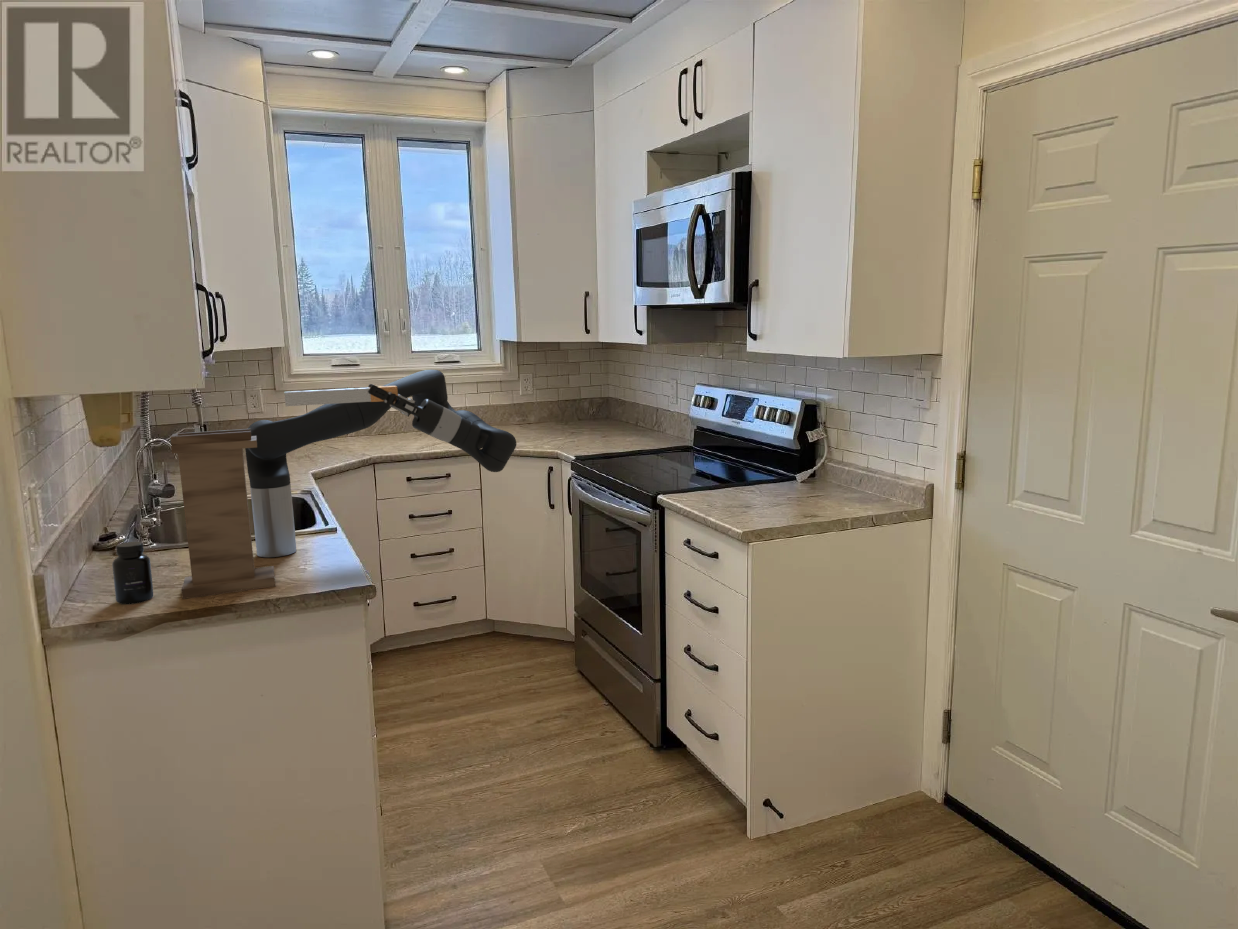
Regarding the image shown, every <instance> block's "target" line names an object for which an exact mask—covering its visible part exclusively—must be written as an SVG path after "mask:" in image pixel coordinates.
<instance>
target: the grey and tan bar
mask: <svg viewBox="0 0 1238 929" xmlns="http://www.w3.org/2000/svg"><path fill="white" fill-rule="evenodd" d="M378 387H379V388H381V389H383V390H385V391H387V394H388V392H392V393H393V394H396V395H398V392H397V386H383V385H381V386H378ZM369 389H370V387H368V386H367V387H355V388H354V387H350V388H335V389H334V388H332V389H314V390H293V391H291V390H289V391H284V392H283V394H284V395H283V396H284V403H285V404H284V405H285V407H298V406H299V407H300V406H314V405H315V406H316V405H317V406H318V405H324V404H336V403H354V402H380V401H384V400H382V399H379V398H377V397H375V396H373V395H371V394H369V392H368V391H369Z"/></svg>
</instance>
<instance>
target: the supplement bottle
mask: <svg viewBox="0 0 1238 929" xmlns="http://www.w3.org/2000/svg"><path fill="white" fill-rule="evenodd" d="M115 549H116V555H117V557H116V558H115V559H114V560H113V561H112V563H111V564H112V565H111V566H112V575H113V584H114V595H115V601H116V603H117V604H120V605H134V604H135V605H136V604H140V603H144V602H147V601H149V600H151V599H153V598H154V587H153V577H152V576H153V575H152V569H151V568H152V566H151V558H150V557H149V556H148V555H147V554H145V553H144V550H145V549H144V542H142V541H127V542H122V543H119V544H117V545H116V546H115Z"/></svg>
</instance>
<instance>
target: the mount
mask: <svg viewBox="0 0 1238 929" xmlns="http://www.w3.org/2000/svg"><path fill="white" fill-rule="evenodd" d="M170 442H171V443H170V444H171V446H170V449H171V455H172V454H177V455H178V456H177V458H178V466H179V473H180V484H181V491H182V499H183V500H182V501H183V509H184V519H185V527H186V528H185V529H186V536H187V537H186V538H187V545H188V554H189V562H190V563H189V564H190V570H191V571H190V572H191V573H190V574H191V576H185V577H184V580H183V583H182V587H181V597H182V599H183V600H184V599H190V598H198V597H204V596H205V597H206V596H213V595H220V594H226V593H235V592H243V591H250V590H257V589H263V588H265V589H266V588H273V587H276V577H275V566H274V565H269V566H263V567H261V566H260V567H255V562H254V551H253V542H252V533H251V522H250V521H251V520H250V511H249V510H250V509H249V503H248V502H249V501H248V492H247V483H246V482H247V481H246V472H245V460H244V451H243V450H244V449H245V448H256V447H257V438H256V436H251V429H248V428H241V429H225V430H222V429H221V430H210V431H196V432H195V431H193V432H192V431H191V432H179V433H172V435H171V436H170Z"/></svg>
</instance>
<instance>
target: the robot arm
mask: <svg viewBox="0 0 1238 929" xmlns="http://www.w3.org/2000/svg"><path fill="white" fill-rule="evenodd" d="M446 382H447V381H446V377H445V375H444V373H443V372H442V371H440V370H438V369H425V370H420V371H417V372H414V373H411V374H408V375H406V376H404V377H402V378H399V379H397V380H396V379H395V380H394V381H392V382H389V383H386V384H383V385H382V386H397V392H398V395H396V394H393V393H392V392H388V394H387V391H385V390H383V389H381V388H379V387H380V386H377V385H375V384H372V383H369V384H368V386H367V388H368V387H370V389H369V391H368V392H369V394H371V395H373V396H375V397H377V398H379V399H382V400H384V401H380V402H354V403H336V404H321V405H320V406H318V407H316V408H314V409H312V410H311V411H309V412H306V413H304V414H301V415H297V416H294V417H289V418H285V419H280V420H277V421H272V420H267V419H261V420H256V421H255V422H253V423H251V424H250V425H249V426H248V427H247V429H251V436H256V438H257V447H256V448H244V450H245V459H246V466H247V467H246V469H247V475H248V479H249V480H248V481H249V487H250V498H251V508H252V517H253V518H252V519H253V526H254V527H253V528H254V537H255V538H254V540H255V549H256V555H257V557H260V558H275V557H276V558H277V557H284V556H288V555H292V554H294V553H296V552H297V541H296V529H295V528H296V527H295V519H294V507H293V495H292V486H291V474H290V471H289V466H288V460H287V454H289V453H291V452H293V451H296V450H298V449H300V448H303V447H305V446H307V445H311V444H314V443H317V442H321V441H327V440H331V439H336V438H339V437H342V436H346V435H349V434H352V433H355V432H359V431H362V430H365V429H367V428H370V427H371V426H373V425H375V424H376V423H377V422H378V421H379V420H380V419H381V418H383V416H384V415H385V414H387V413H388V411H389V410H390V409H391V408H393V409H394V410H395V411H398V412H400V413H401V414H402V415H404V416H406V417H408V418H409V417H410V415H412V416H413V419H412V422H411V427H412V428H414V429H416V430H418V431H419V432H422V433H423V434H426V435H427V436H428V435H429V436H430V437H432V438H434V439H436V440H439V441H442V442H445V443H448V444H450V445H451V446H453V447H455V448H458V449H460V450H461V451H463V452H465V453H466V454H468V455H469V456H470V457H472V458H473V459H474V460H475V461H476V462H477V463H478V464H480V465H481V466H482V467H483V468H484V469H485V470H486V471H488V472H492V473H499V472H501V471H503V469H504V468H505V467H506V465H507V463H508V462H509V460H510V459H511V456H513V455H512V454H513V453H514V451H515V450H516V448H517V439H516V437H515V436H514V434H512V433H510V432H509V431H508V430H507V431H506V430H504V429H500V428H497V427H493V426H491V425H490V424H488V423H487V422H486V421H485V420H483V419H482V418H480V417H479V416H478V415H477V414H475V413H473V412H471V411H469V410H463V409H459V410H455V409H454V408H453V407H452V406H451V404H450V402H449V401H448V399H449V398H448V390H447V383H446ZM410 397H412V398H410Z"/></svg>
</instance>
